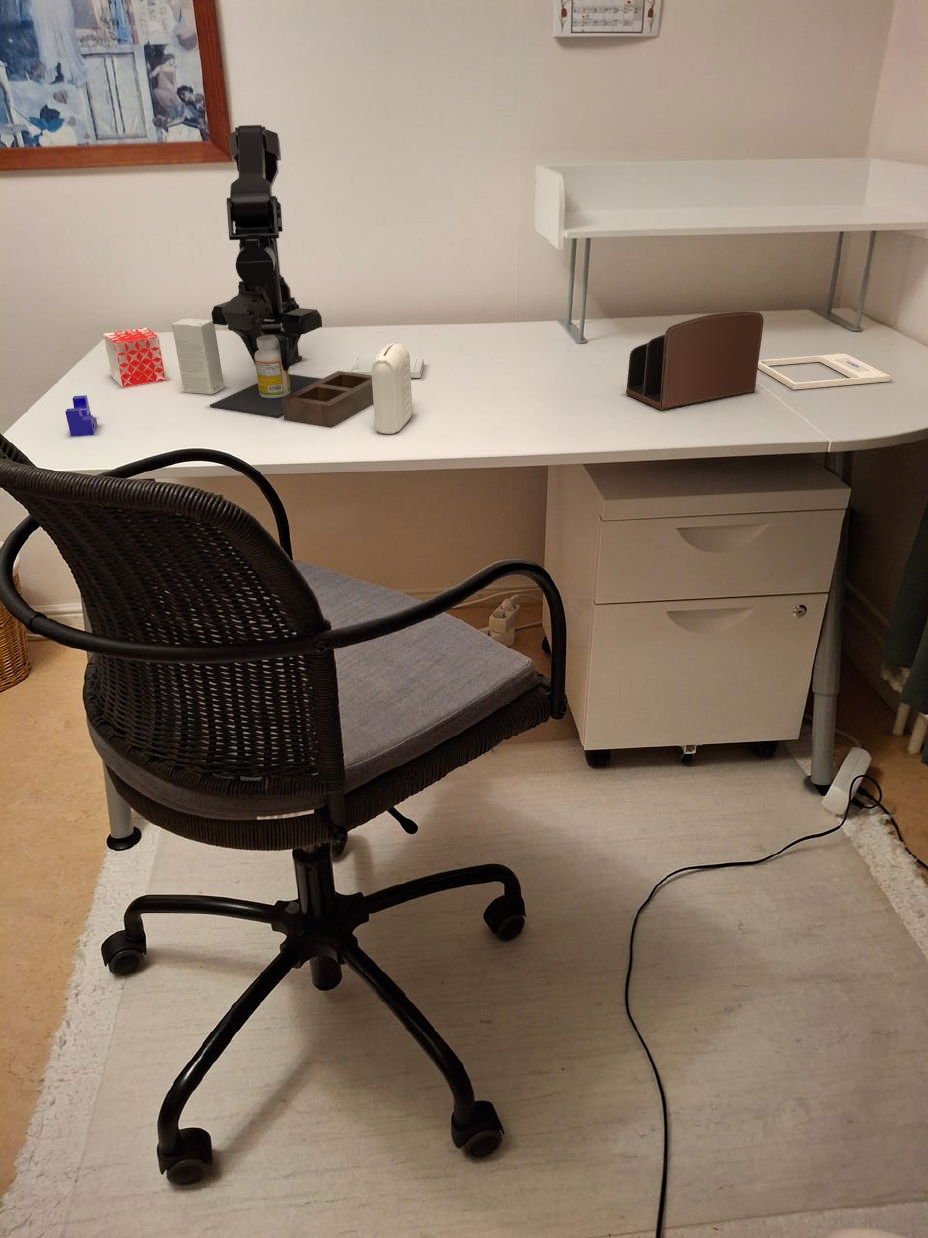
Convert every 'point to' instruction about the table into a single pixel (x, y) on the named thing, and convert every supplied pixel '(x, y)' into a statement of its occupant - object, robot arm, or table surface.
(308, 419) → the bottle holder
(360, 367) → the hard drive
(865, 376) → the photo frame
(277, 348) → the supplement bottle
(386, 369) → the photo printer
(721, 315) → the letter holder
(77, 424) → the cable holder
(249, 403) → the desk mat
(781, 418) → the table surface
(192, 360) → the cosmetic box
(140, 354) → the puzzle cube
